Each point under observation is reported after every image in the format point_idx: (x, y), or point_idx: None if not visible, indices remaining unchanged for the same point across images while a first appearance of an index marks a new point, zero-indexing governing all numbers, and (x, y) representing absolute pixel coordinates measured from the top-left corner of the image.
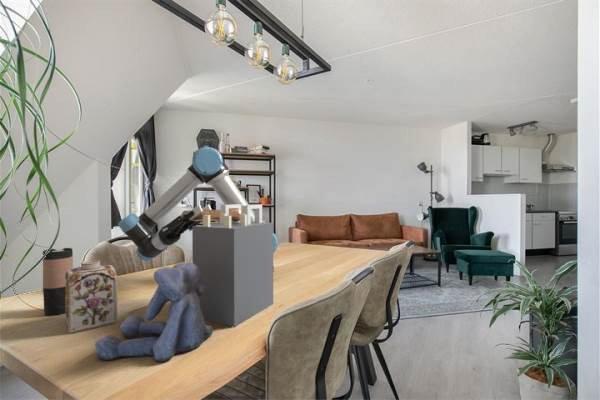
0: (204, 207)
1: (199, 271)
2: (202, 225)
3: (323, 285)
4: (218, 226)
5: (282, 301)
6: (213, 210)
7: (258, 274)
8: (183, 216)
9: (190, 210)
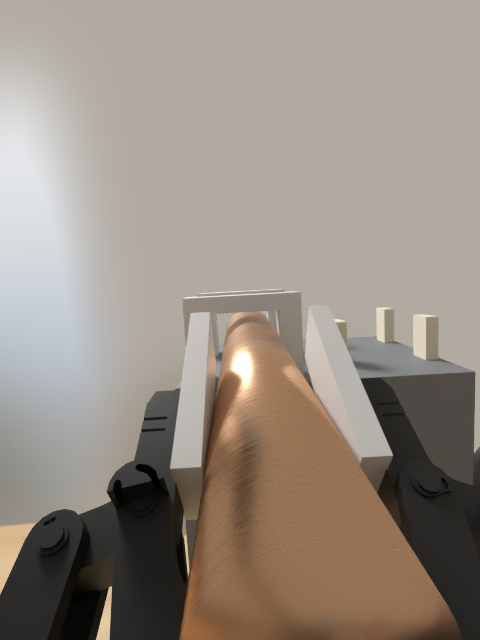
0: (208, 347)
1: (477, 450)
2: (422, 369)
3: (26, 537)
4: (386, 351)
5: (188, 559)
6: (270, 336)
7: None
8: (463, 488)
9: (293, 439)
